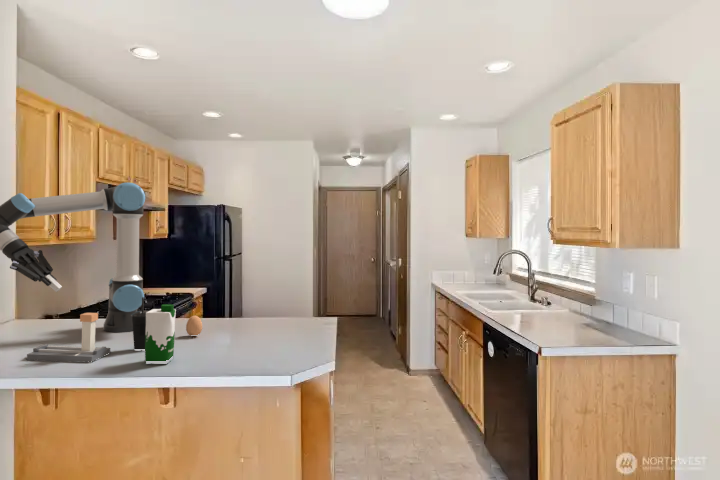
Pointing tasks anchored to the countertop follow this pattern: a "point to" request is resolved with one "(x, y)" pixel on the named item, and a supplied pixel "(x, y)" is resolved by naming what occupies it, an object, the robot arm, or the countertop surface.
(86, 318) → the fader
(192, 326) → the egg
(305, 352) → the countertop surface
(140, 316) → the drinking cup
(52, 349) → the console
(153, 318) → the milk carton
